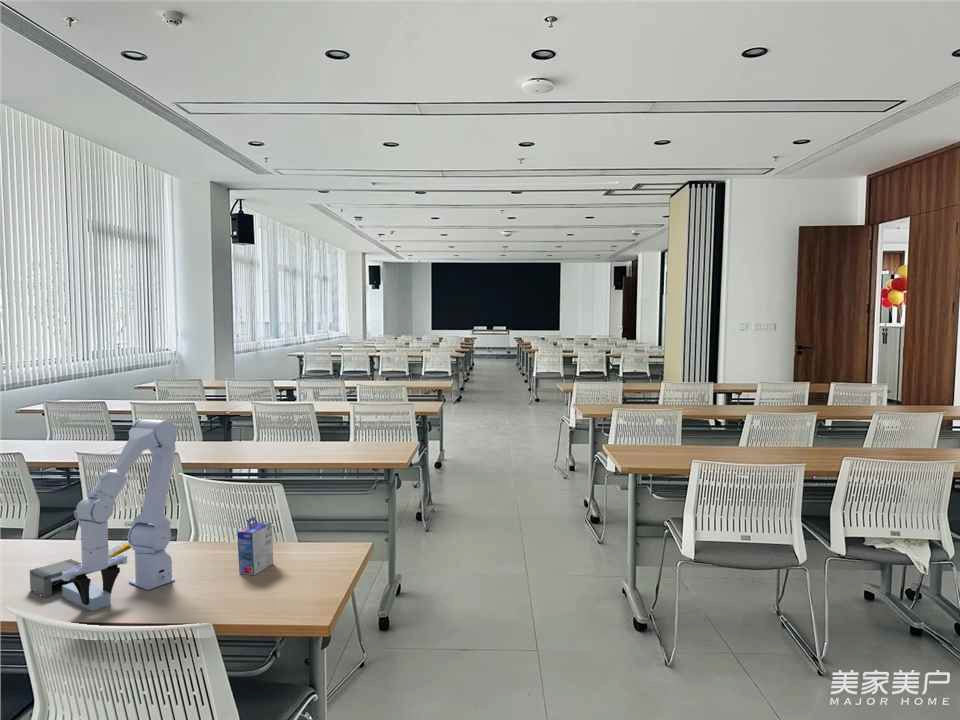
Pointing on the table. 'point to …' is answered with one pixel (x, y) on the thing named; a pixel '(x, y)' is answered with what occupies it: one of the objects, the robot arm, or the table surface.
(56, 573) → the gray block
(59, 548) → the table surface
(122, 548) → the candy bar
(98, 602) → the pale blue rectangular block
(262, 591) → the table surface
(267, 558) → the ink cartridge box
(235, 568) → the table surface
